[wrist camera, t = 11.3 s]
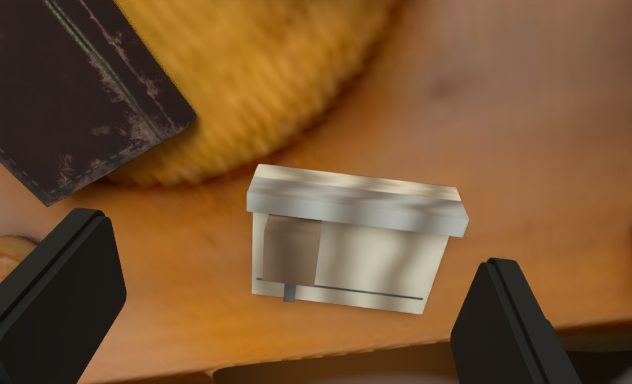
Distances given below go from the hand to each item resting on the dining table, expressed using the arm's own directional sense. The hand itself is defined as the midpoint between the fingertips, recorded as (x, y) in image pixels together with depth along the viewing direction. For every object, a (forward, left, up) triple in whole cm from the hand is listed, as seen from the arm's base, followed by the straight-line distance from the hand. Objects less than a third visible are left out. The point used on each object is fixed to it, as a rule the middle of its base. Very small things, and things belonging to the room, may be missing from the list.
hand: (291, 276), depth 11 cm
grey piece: (-4, +21, -28) cm, 35 cm away
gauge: (+2, +21, -25) cm, 33 cm away
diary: (+26, +3, -29) cm, 39 cm away
